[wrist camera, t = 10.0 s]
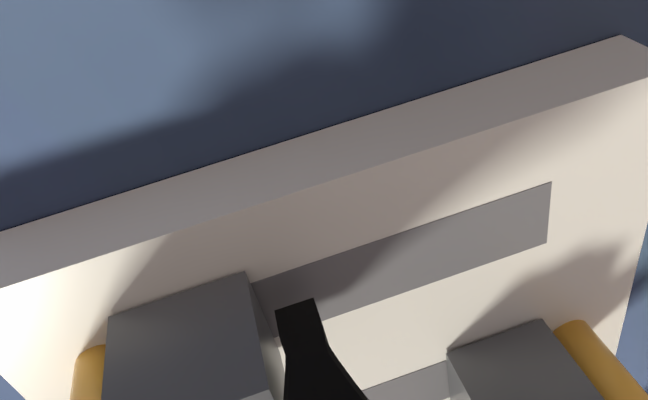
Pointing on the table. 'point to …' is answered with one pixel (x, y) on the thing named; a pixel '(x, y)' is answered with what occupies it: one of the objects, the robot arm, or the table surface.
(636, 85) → the switch panel
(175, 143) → the table surface
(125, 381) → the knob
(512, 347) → the middle knob
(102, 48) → the table surface
